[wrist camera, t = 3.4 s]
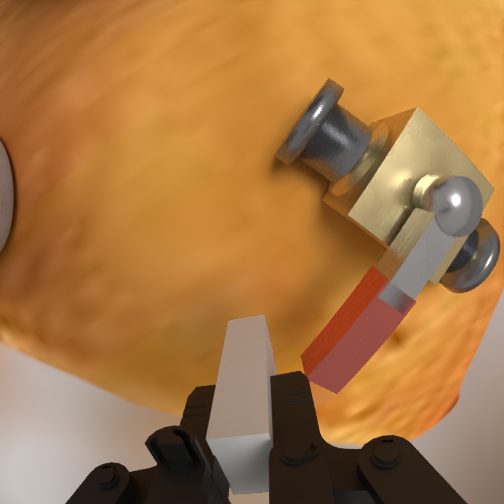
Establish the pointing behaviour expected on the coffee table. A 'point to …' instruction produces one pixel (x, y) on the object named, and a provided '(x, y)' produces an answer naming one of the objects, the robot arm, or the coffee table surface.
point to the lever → (394, 279)
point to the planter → (5, 196)
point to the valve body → (389, 177)
